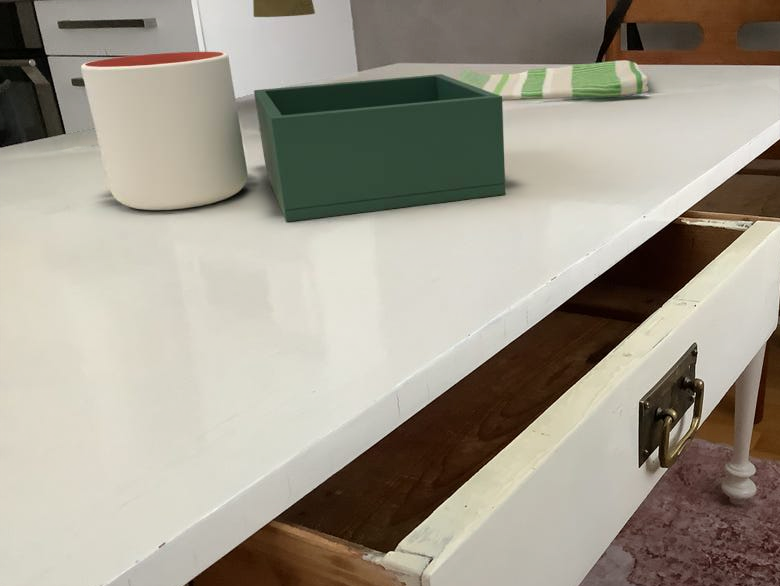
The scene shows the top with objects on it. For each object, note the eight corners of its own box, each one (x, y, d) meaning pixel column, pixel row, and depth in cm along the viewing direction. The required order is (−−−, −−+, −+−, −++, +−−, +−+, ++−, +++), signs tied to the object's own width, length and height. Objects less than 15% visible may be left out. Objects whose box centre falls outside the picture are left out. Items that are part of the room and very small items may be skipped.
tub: (266, 175, 70) (253, 90, 67) (447, 155, 74) (442, 73, 71) (286, 222, 57) (270, 118, 54) (505, 194, 61) (502, 96, 58)
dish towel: (463, 86, 115) (461, 65, 114) (636, 80, 113) (637, 58, 112) (448, 107, 99) (446, 82, 98) (650, 100, 97) (651, 75, 96)
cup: (276, 191, 65) (255, 53, 60) (156, 222, 58) (123, 69, 54) (205, 176, 71) (181, 49, 67) (89, 202, 64) (55, 64, 60)
